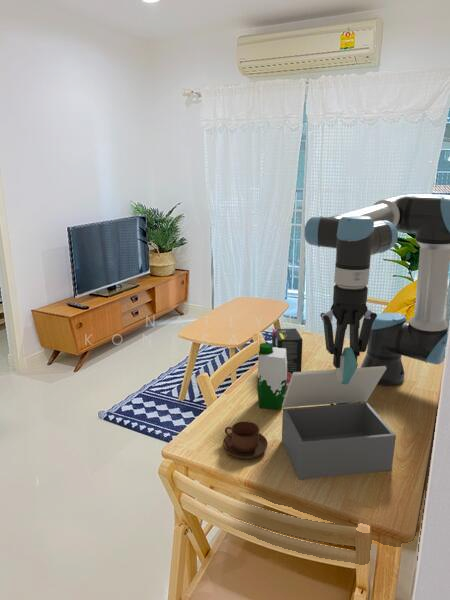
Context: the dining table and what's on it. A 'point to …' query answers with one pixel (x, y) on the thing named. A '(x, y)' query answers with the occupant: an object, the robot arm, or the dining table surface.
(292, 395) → the carton lid
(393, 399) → the dining table surface
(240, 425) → the cup and saucer
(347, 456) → the carton
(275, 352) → the milk carton
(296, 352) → the tampon box
